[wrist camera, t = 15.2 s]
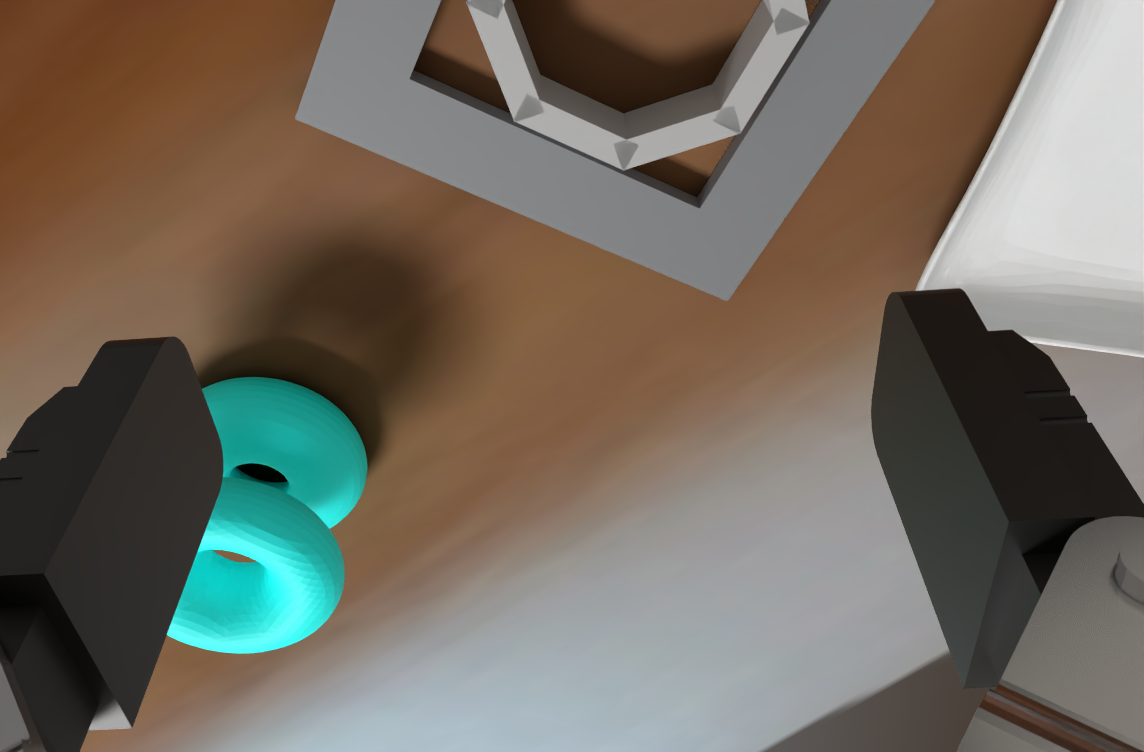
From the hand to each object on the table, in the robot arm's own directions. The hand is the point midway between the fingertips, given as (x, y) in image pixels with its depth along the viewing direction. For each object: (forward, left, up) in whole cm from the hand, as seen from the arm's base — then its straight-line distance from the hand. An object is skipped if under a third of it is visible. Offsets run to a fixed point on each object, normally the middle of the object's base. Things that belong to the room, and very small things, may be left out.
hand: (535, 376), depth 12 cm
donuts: (+31, -1, -30) cm, 43 cm away
